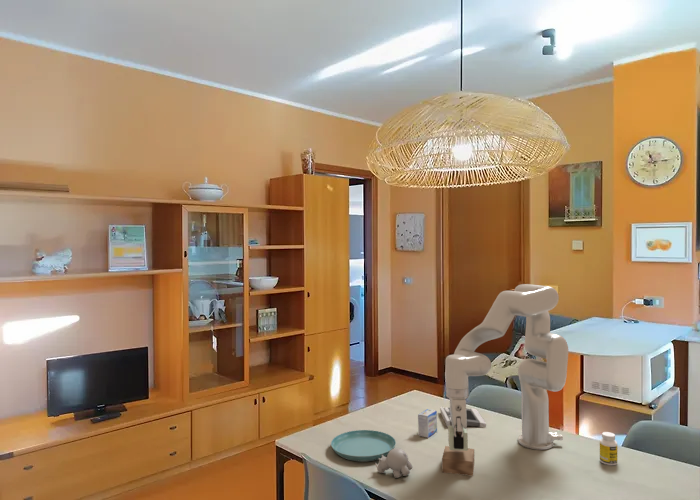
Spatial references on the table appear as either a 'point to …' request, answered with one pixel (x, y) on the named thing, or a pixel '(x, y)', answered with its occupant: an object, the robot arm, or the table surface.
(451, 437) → the sage cube
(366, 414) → the table surface
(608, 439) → the supplement bottle
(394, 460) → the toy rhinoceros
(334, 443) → the teal plate
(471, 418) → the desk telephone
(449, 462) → the walnut block
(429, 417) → the medicine box
